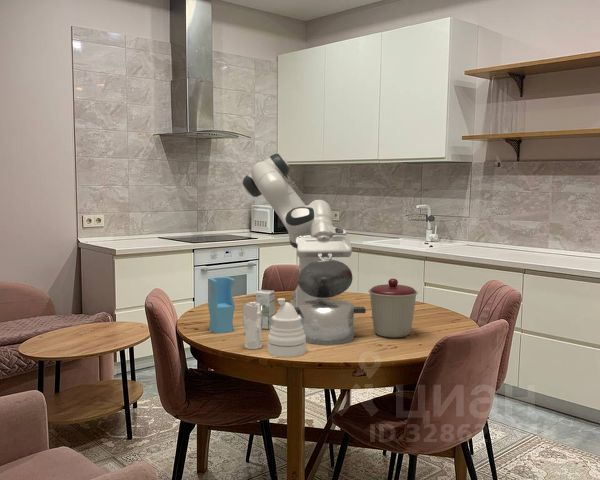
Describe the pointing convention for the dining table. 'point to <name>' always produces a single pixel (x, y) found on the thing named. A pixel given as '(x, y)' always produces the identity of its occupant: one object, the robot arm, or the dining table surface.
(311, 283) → the cooker lid
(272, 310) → the syrup box
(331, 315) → the cooker pot
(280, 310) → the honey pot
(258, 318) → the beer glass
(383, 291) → the canister
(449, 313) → the dining table surface
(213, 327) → the blue toy chair
